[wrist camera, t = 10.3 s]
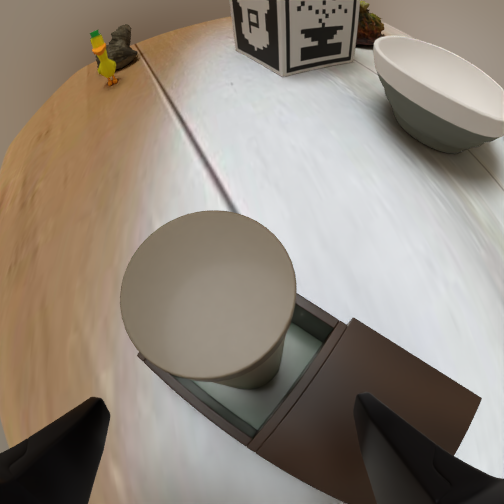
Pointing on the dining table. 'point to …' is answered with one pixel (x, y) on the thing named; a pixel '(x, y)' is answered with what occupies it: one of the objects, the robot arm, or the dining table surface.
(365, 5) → the cactus
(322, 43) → the block
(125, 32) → the seashell
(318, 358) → the stepped brown tray
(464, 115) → the bowl
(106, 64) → the toy figure
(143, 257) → the tin
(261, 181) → the dining table surface
